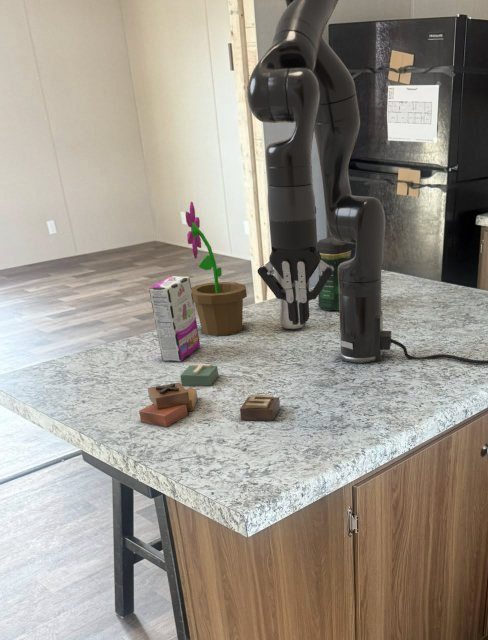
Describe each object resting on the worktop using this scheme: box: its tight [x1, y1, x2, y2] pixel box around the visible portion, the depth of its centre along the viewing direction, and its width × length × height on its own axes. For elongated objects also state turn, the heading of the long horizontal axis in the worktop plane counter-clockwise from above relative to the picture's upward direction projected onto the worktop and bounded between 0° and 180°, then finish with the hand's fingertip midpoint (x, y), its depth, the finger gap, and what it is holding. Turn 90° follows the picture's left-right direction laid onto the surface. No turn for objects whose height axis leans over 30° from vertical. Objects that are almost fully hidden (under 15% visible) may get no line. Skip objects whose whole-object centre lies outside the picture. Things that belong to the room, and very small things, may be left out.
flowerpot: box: [185, 201, 248, 337], centre depth 171 cm, size 14×14×30 cm
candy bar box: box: [148, 275, 201, 363], centre depth 158 cm, size 11×5×16 cm, turn 168°
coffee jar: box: [317, 236, 352, 312], centre depth 191 cm, size 10×8×19 cm
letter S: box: [239, 394, 281, 422], centre depth 129 cm, size 6×6×3 cm
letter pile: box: [138, 381, 198, 428], centre depth 130 cm, size 8×14×5 cm, turn 174°
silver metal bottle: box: [275, 270, 305, 330], centre depth 173 cm, size 6×7×20 cm
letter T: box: [180, 363, 219, 387], centre depth 146 cm, size 6×6×3 cm
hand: (299, 323), depth 121 cm, fingers closed
